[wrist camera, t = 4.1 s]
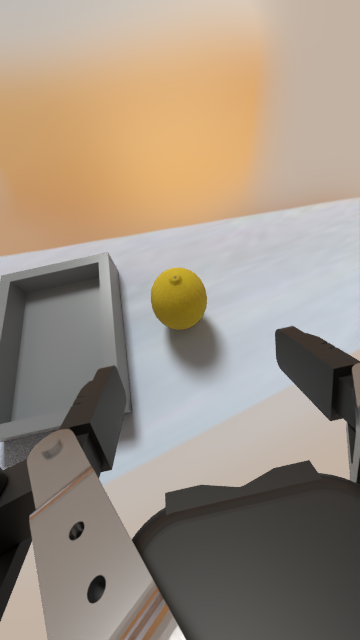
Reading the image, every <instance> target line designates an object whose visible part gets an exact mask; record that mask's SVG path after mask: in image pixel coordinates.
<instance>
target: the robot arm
mask: <svg viewBox="0 0 360 640" xmlns="http://www.w3.org/2000/svg"><path fill="white" fill-rule="evenodd" d="M275 341H276V359H277V363H278V365H279V367H280V369H281V370H282V371H283V372H284V373H285V374H286V375H287V376H288V377H289V378H290V379H291V380H292V382H293V383H294V384H295V385H296V386H297V387H298V388H299V389H300V390H301V391H302V392H303V393H304V394H305V395H306V396H307V397H308V398H309V399H310V400H311V401H312V402H313V404H314V405H315V406H316V407H317V408H318V409H319V410H320V411H321V412H322V413H323V414H324V415H325V416H326V417H327V418H328V419H329V420H330V421H333V420H338V419H342V418H343V419H344V420H345V421H347V426H346V431H347V443H348V457H349V469H350V480H347V479H345V478H341V477H338V476H334V475H328V474H322V473H318V472H317V471H316V469H315V468H314V467H313V465H312V464H311V462H310V461H309V460H308V461H304V462H299V463H296V464H290V465H286V466H282V467H277V468H274V469H272V470H270V471H269V472H267V473H265V474H263V475H262V476H260V477H258V478H257V479H255V480H253V481H251V482H249V483H248V484H246V485H244V486H242V487H226V486H210V485H199V486H194V487H190V488H185V489H181V490H176V491H173V492H168V493H166V494H165V497H166V499H165V501H166V507H165V508H164V509H162V510H160V511H159V512H158V513H156V514H155V515H154V516H152V517H151V518H150V519H149V520H148V521H147V522H146V523H145V524H144V525H143V526H142V527H141V528H140V530H139V531H138V532H137V533H136V534H135V536H134V537H133V539H132V540H131V538H130V536H129V534H128V532H127V530H126V529H125V527H124V525H123V523H122V521H121V519H120V518H119V516H118V514H117V512H116V510H115V508H114V506H113V505H112V503H111V501H110V499H109V497H108V496H107V493H106V492H105V490H104V488H103V486H102V484H101V482H100V480H99V476H100V473H101V472H104V471H108V470H112V467H113V462H114V457H115V453H116V448H117V444H118V439H119V435H120V430H121V425H122V421H123V416H124V412H125V407H126V393H125V389H124V387H123V384H122V381H121V378H120V375H119V373H118V370H117V368H116V366H114V365H113V366H109V367H104V368H100V369H98V370H97V372H96V374H95V376H94V378H93V380H92V381H89V382H88V383H87V384H86V385H85V386H84V387H83V388H82V389H81V390H80V392H79V394H78V395H77V397H76V399H75V401H74V403H73V404H72V405H73V406H71V408H70V410H69V412H68V414H67V415H66V417H65V419H64V421H63V423H62V424H61V426H60V428H59V430H58V431H55V432H53V433H51V434H49V435H47V436H46V437H45V438H43V439H42V440H41V441H40V442H38V443H37V444H36V445H35V447H34V448H33V449H32V450H31V452H30V454H29V456H28V458H27V459H26V460H24V461H22V462H20V463H18V464H16V465H14V466H12V467H9V468H7V469H5V470H2V469H1V468H0V621H1V618H2V616H3V613H4V611H5V608H6V606H7V603H8V600H9V598H10V595H11V593H12V590H13V588H14V585H15V583H16V580H17V578H18V575H19V572H20V570H21V567H22V565H23V562H24V560H25V557H26V555H27V552H28V550H29V547H30V545H31V542H32V541H33V548H34V555H35V561H36V567H37V574H38V580H39V587H40V593H41V599H42V606H43V612H44V618H45V625H46V631H47V638H48V640H360V361H358V360H357V359H355V358H353V357H352V356H350V355H348V354H347V353H345V352H343V351H342V350H340V349H338V348H335V346H333V345H332V344H330V343H327V342H326V341H325V340H323V339H321V338H320V337H318V336H314V335H311V334H308V333H306V334H305V333H304V332H302V331H300V330H299V329H297V328H296V327H294V326H290V327H286V328H281V329H277V330H276V332H275Z"/></svg>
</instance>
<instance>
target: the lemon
mask: <svg viewBox="0 0 360 640" xmlns="http://www.w3.org/2000/svg"><path fill="white" fill-rule="evenodd" d="M151 303H152V308H153V311H154V313H155V315H156V317H157V318H158V319H159V320H160V321H161V322H162V323H163V324H164V325H166V326H167V327H169V328H172V329H177V330H183V329H188V328H190V327H192V326H194V325H195V324H196V323H198V322H199V321H200V319H201V318H202V317H203V315H204V312H205V310H206V305H207V296H206V290H205V287H204V285H203V283H202V281H201V280H200V278H199V277H198V276H197V275H196V274H195V273H193V272H192V271H190V270H188V269H185V268H172V269H169V270H166V271H165V272H163V273H162V274H160V275H159V276H158V277H157V279H156V280H155V282H154V284H153V287H152V290H151Z"/></svg>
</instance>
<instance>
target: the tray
mask: <svg viewBox="0 0 360 640" xmlns="http://www.w3.org/2000/svg"><path fill="white" fill-rule="evenodd" d="M113 365H114V366H116V368H117V370H118V373H119V375H120V378H121V381H122V384H123V387H124V389H125V393H126V407H125V412H124V414H128V413H132V406H131V396H130V386H129V376H128V366H127V357H126V347H125V337H124V327H123V317H122V307H121V297H120V288H119V278H118V270H117V268H116V266H115V264H114V262H113V261H112V259H111V257H110V255H109V253H108V252H107V253H102V254H98V255H93V256H89V257H84V258H80V259H75V260H70V261H66V262H61V263H57V264H52V265H48V266H43V267H39V268H34V269H30V270H25V271H20V272H16V273H11V274H7V275H2V276H1V281H0V442H5V441H9V440H13V439H18V438H22V437H27V436H31V435H35V434H40V433H44V432H49V431H53V430H57V429H59V428H60V426H61V424H62V423H63V421H64V419H65V417H66V415H67V414H68V412H69V410H70V408H71V406H73V405H72V404H73V403H74V401H75V399H76V397H77V395H78V394H79V392H80V390H81V389H82V388H83V387H84V386H85V385H86V384H87V383H88V382H89V381H92V380H93V378H94V376H95V374H96V372H97V370H98V369H100V368H104V367H109V366H113Z"/></svg>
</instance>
